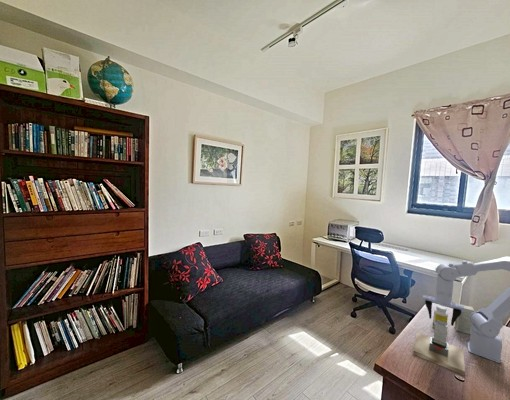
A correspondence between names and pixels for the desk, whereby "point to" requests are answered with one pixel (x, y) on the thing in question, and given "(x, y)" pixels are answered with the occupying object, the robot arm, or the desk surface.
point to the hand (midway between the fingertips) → (440, 321)
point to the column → (440, 332)
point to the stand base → (451, 362)
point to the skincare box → (464, 320)
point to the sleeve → (438, 348)
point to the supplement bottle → (440, 314)
